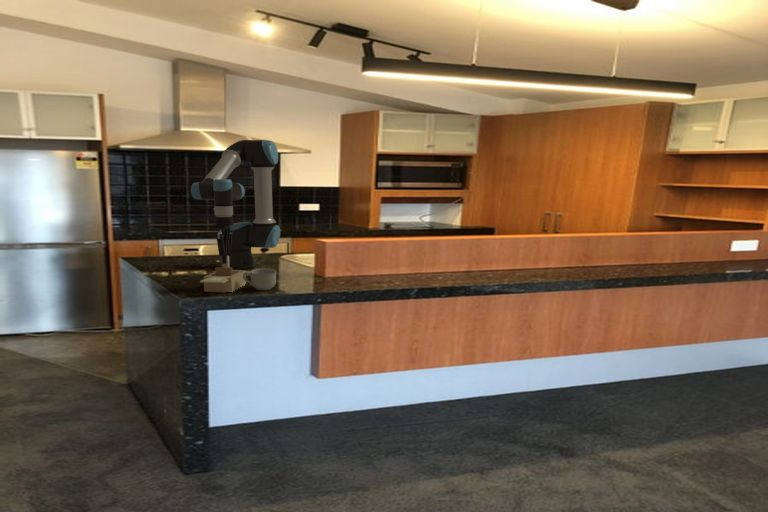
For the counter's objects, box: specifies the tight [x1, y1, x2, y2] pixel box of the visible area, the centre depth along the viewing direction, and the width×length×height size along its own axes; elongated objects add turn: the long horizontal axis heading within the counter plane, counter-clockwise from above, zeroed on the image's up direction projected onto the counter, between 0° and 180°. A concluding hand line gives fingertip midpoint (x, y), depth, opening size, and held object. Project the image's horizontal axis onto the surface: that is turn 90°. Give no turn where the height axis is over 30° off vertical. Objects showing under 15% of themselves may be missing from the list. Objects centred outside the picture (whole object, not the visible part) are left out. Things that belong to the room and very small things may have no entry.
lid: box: [199, 266, 233, 284], centre depth 219 cm, size 14×10×4 cm
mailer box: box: [203, 269, 247, 293], centre depth 227 cm, size 16×12×6 cm
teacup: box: [243, 268, 277, 291], centre depth 226 cm, size 14×11×8 cm
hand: (225, 270), depth 227 cm, fingers closed
